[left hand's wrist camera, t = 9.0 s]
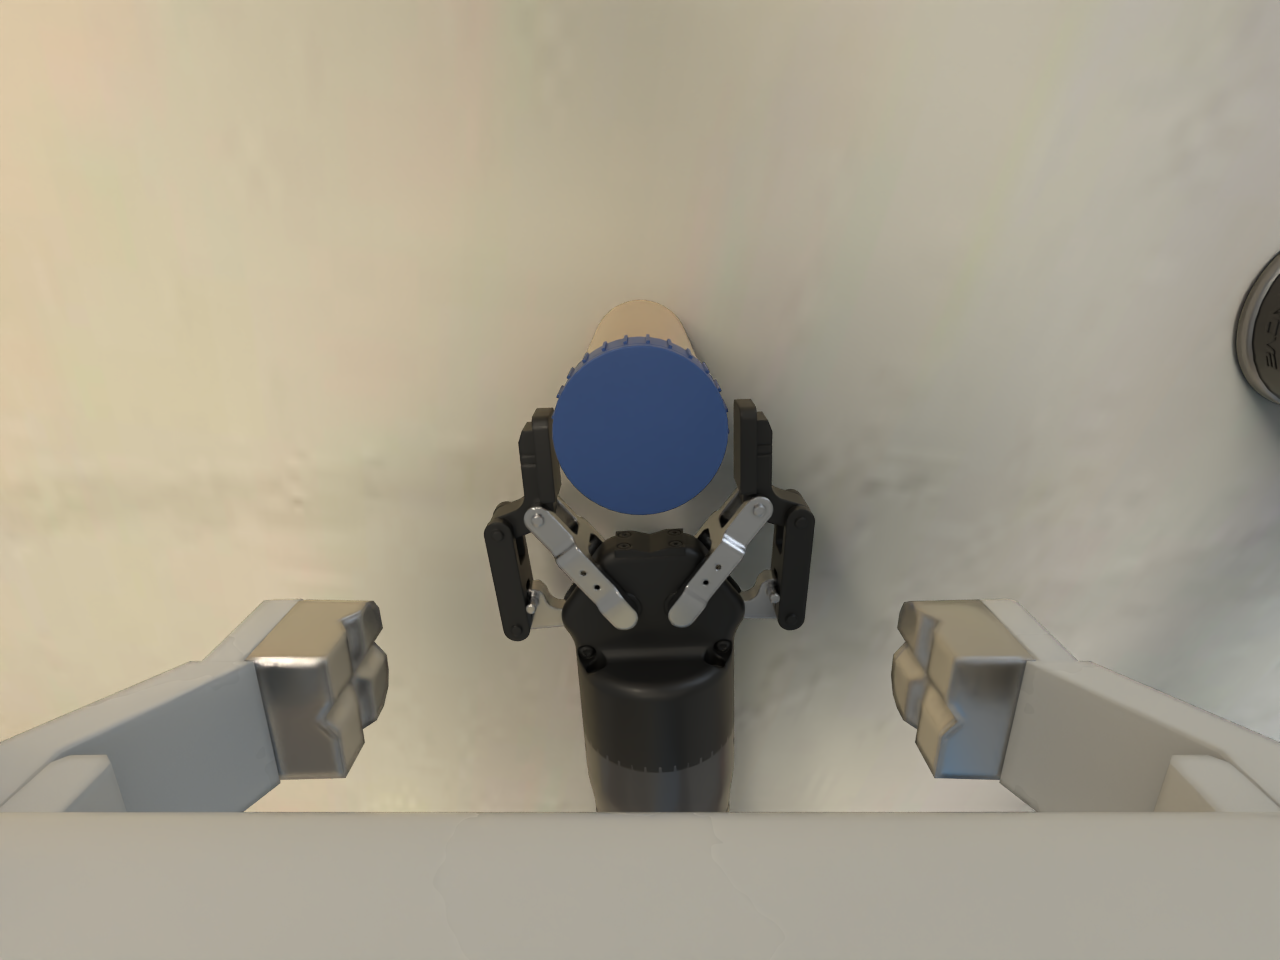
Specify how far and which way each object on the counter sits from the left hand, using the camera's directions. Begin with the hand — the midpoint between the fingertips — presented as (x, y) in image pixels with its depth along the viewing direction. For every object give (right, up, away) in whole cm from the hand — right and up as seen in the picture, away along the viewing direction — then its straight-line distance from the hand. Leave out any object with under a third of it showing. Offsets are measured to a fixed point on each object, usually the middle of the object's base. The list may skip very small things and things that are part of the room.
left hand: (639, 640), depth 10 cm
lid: (0, +4, +11) cm, 11 cm away
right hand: (0, +5, +19) cm, 20 cm away
